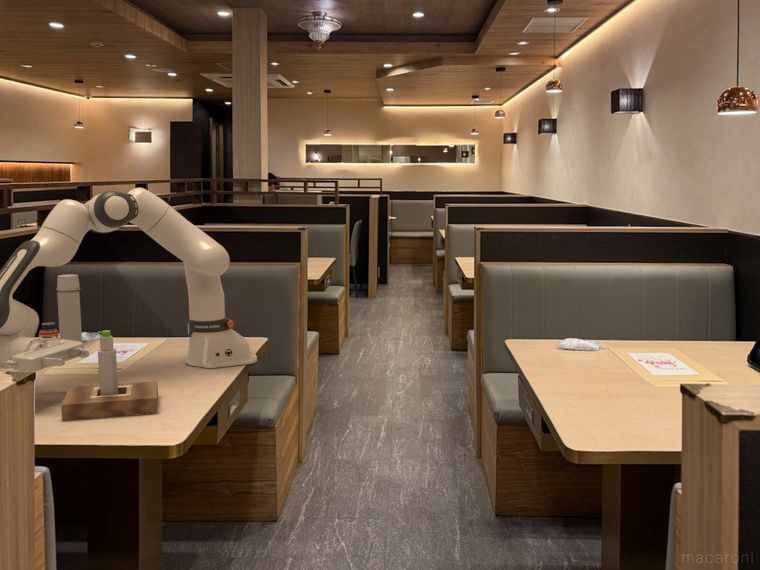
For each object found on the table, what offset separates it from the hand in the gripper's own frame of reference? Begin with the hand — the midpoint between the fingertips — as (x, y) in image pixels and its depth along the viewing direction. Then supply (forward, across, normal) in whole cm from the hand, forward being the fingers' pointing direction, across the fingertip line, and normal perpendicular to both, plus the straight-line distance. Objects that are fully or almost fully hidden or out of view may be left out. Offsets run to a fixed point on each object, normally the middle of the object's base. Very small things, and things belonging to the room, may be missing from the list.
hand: (75, 358), depth 190 cm
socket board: (+10, 0, +12) cm, 16 cm away
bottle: (+10, 0, +12) cm, 16 cm away
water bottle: (-47, +57, +12) cm, 75 cm away
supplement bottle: (-43, +41, +12) cm, 61 cm away
